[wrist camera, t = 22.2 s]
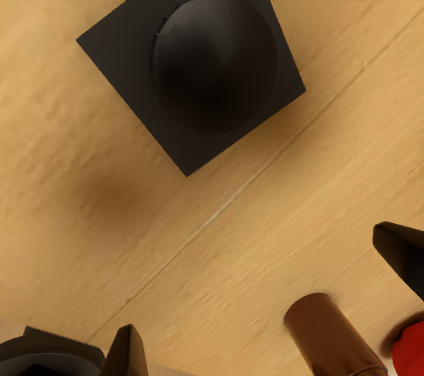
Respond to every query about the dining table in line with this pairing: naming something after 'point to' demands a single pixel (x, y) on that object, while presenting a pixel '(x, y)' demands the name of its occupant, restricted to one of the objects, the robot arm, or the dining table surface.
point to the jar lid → (213, 64)
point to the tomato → (410, 351)
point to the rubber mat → (142, 85)
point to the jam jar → (330, 340)
